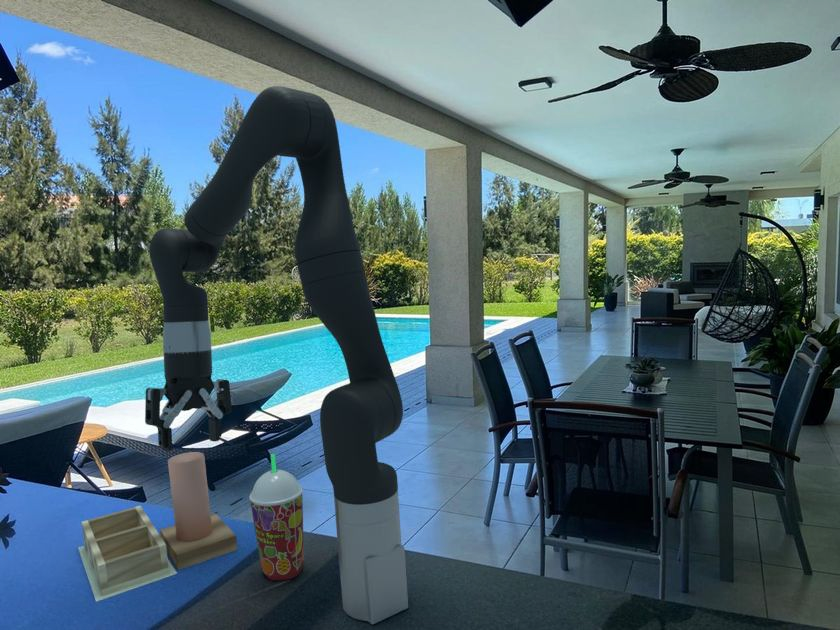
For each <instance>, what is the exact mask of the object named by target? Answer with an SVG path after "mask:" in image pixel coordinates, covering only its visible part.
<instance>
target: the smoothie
mask: <svg viewBox="0 0 840 630" xmlns="http://www.w3.org/2000/svg"><path fill="white" fill-rule="evenodd" d="M270 461H271V470H269V471H266V472H265V473H263V474H262V475H260V476H259V478H258V479H256V482H255V483H254V486H253V489H252V491H251V492H250V494H249V497H248V498H249V500H250V501H249V502H250V507H251V513H252V521H253V525H254V530H255V532H254V533H255V539H256V543H257V550H258V556H259V562H260V567H261V570H262V573H264V574H265V576H266V578H268V579H269V580H273V581H284V582H285V581H288V580H291V579H293V578H296V577H297V576H299V575H300V573H301V571H302V567H303V566H304V564H305V556H304V555H305V554H304V551H305V549H304V546H305V545H304V509H303V507H304V506H303V505H304V504H303V501H304V500H303V492H304V491H303V487H302V485H301V484H300V483H299V482H298V480H297V478H296V477H295V476H294V475H293V474H291V472H288V471H287V470H283V469H277V464H276V463H277V461H276V455H275V453H271V454H270Z"/></svg>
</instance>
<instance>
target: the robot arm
mask: <svg viewBox="0 0 840 630" xmlns="http://www.w3.org/2000/svg"><path fill="white" fill-rule="evenodd" d="M337 127H338V126H337V122H336V118H335V115H334V112H333V110H332V108H331V106H330V104H329V103H328V102H327V101H326V100H325V99H324V98H323V97H321V96H320V95H318V94H315V93H312V92H307V91H304V90H299V89H295V88H292V87H286V86H279V85H273V86H270V87H267V88H265V89H263V90H262V91H261V92H260V93H259V94H258V95H257V96H256V98H255V99H254V100H253V102H252V103H251V104H250V107H249V108H248V110H247V111H246V114H245V115H244V118H243V119H242V121H241V123H240V125H239V127H238V129H237V131H236V133H235V135H234V136H233V139H232V140H231V143H230V145H229V147H228V149H227V151H226V153H225V155H224V157H223V159H222V161H221V163H220V165H219V167H218V169H216V172H215V174H214V175H213V176H212V178H211V180H210V181H209V182H208V183H207V185H206V186H205V188H204V189H203V190H202V191H201V193H200V194H198V196H197V197H196V199H195V200H194V201H193V202H192V204H191V205H190V207H189V208H188V209H187V210H186V213H185V215H184V225H185V227H186V229H181V228H167V227H166V228H165V227H164V228H161V229H159V230H156V232H155V233H154V234H153V235H152V237H151V239H150V242H149V247H148V248H149V250H148V251H149V259H150V262H151V266H152V269H153V271H154V274H155V277H156V280H157V283H158V286H159V290H160V293H161V297H162V301H163V303H162V304H163V305H162V306H163V333H162V341H163V342H162V343H163V344H162V349H163V369H164V370H163V372H164V375H163V376H164V380H165V384H164V386H163V387H161V388H160V387H158V388H157V387H147V388H146V389H145V410H144V411H145V412H144V414H145V415H144V417H145V418H144V422H145V424H146V425H148V426H153V427H156V428H157V441H158V444H157V445H158V446H159V448H161V450H162V451H165V452H170V451H172V450H173V432H172V430H173V429H172V427H171V425H173V422H174V420H175V419H176V417H178V416H179V415H180V413H181V412H186V411H190V410H192V409H197V410H198V409H202V410H203V411H204V412H205V413H206V415H208V417H210V418H209V419H208V422H207V423H208V438H209V441H211V442H219V441H220V438H221V437H222V434H223V431H222V430H223V429H222V419H223V417H224V416H226V415H228V414H231V413H232V411H233V410H232V409H233V407H232V398H231V389H230V381H229V380H228V379H223V378H221V379H217V380H215V381H213V379H212V375H213V357H212V355H213V354H212V353H213V352H212V336H211V335H212V334H211V328H210V322H209V298H208V293H207V290H205V289H204V288H203V287H201V286H197V285H193V284H190V283H189V282H188V281H187V280H186V278H185V275H184V273H187V272H188V273H200V272H201V273H202V272H205V271H207V270H209V269H210V268H212V267H213V266H214V265H215V264H216V262H217V261H218V257H219V255H220V252H221V249H222V248H223V246H224V242H225V240H226V237H227V236H228V234H230V233H231V231H233V230H234V228H235V226H237V224H238V223H240V221H241V220H242V219H243V217H244V216H245V215H246V213H247V211H248V210H249V207H250V204H251V201H252V197H253V196H252V195H253V184H254V180H255V178H256V177H257V174H258V173H259V172H260V171H261V170H262V168H264V166H265V165H267V164H268V163H269V162H271V160H273V159H275V157H277V156H278V157H285V158H286V157H288V158H295V159H296V162H297V166H298V169H299V173H300V176H301V182H302V187H303V199H304V200H303V207H302V212H301V216H300V220H299V224H298V228H297V231H296V232H297V233H296V236H295V242H294V258H295V262H296V267H297V271H298V275H299V278H300V283H301V288H302V291H303V294H304V298H305V299H306V302H307V304H308V305H309V307H310V308H311V310H312V312H314V314H315V315H316V317H317V318H318V319H319V321H320V322H321V323H322V324H323V325H324V326H325V328H326V329H327V330H328V331H329V333H330V334H331V335H332V337H333V338H334V340H335V341H336V343H337V344H338V347H339V348H340V351H341V353H342V355H343V359H344V362H345V365H346V369H347V370H346V371H347V373H348V378H349V379H348V380H349V382H348V383H347V384H344V385H340V386H338V387H336V388H333V389H332V390H330V391H329V392H328V393H326V395H325V396H324V398H323V399H322V402H321V405H320V406H321V407H320V411H319V413H320V414H319V421H320V423H319V424H320V426H319V427H320V434H321V442H322V447H323V456H324V464H325V469H326V473H327V476H328V479H329V480H330V483H331V484H332V489H333V490H332V491H333V499H334V513H335V514H334V515H335V526H336V539H337V551H338V565H339V576H340V577H339V579H340V587H341V598H342V600H341V601H342V608H343V611H344V612H345V614H347V616H350V617H351V618H352V619H356V620H359V621H363V622H364V621H366V622H368V623H369V624H371V625H374V624H377V623H380V622H382V621H383V620H386V619H387V618H389V617H392V616H394V615H396V614H398V613H401V612H402V611H404V610H406V609H408V608H409V601H408V599H409V598H408V597H409V596H408V583H407V570H406V569H407V566H406V554H405V552H406V551H405V550H406V549H405V547H404V546H403V544H402V532H401V531H402V530H401V519H400V518H401V517H400V516H401V515H400V501H399V500H400V499H399V485H398V484H399V483H398V474H397V471H396V469H395V468H394V466H392V465H390V464H389V463H385V462H382V461H379V459H378V453H377V446H376V445H377V443H379V442H381V441H383V440H384V439H386V438H388V437H390V436H391V435H393V434H394V433H395V432H397V430H399V428H400V426H401V424H402V420H403V417H404V407H403V406H404V405H403V400H402V396H401V393H400V389H399V386H398V382H397V380H396V377H395V374H394V372H393V368H392V366H391V363H390V360H389V357H388V354H387V351H386V348H385V345H384V342H383V339H382V335H381V332H380V328H379V324H378V321H377V317H376V313H375V309H374V305H373V301H372V297H371V294H370V288H369V284H368V278H367V273H366V269H365V265H364V264H365V263H364V262H363V261H364V259H363V257H362V252H361V248H360V244H359V241H358V238H357V234H356V231H355V230H356V229H355V226H354V221H353V217H352V212H351V207H350V203H349V202H350V201H349V198H348V192H347V189H346V184H345V183H346V182H345V176H344V170H343V164H342V162H343V161H342V155H341V147H340V139H339V133H338V128H337ZM213 391H214V392H215V393H216V401H217V402H215V400H214V399H213V398H212V397H211V394H212V393H213ZM164 396H165V397H166V399H167V402H166V403H165V405H164V407H163V408H162V410H161V402H162V401H163V398H164ZM160 411H161V412H160Z"/></svg>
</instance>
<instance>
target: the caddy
mask: <svg viewBox="0 0 840 630" xmlns="http://www.w3.org/2000/svg"><path fill="white" fill-rule="evenodd" d="M148 516H149V515H148V514H146V512H145V510H144V509H143V507H142V505H137V506H133V507H130V508H126V509H123V510H119V511H116V512H112V513H108V514H105V515H102V516H98V517H93V518H91V519H86V520H83V521H81V528H82V529H81V530H82V535H83V536H82V537H83V546H85V550H86V552H87V555H88V558H89V561H90V563H91V566H92V569H93V572H94V574H95V577H96V580H97V583H98V586H99V588H100V591H101V594H102V596H104V595H107V594H110V593H113V592H116V591H119V590H122V589H125V588H127V587H130V586H133V585H136V584H139V583H142V582H145V581H148V580H151V579H154V578H157V577H159V576H162V575H165V574H168V573H169V566H168V560H169V559H168V553H167V549H166V544H165V542H164V541H163V539H162V538H161V534H160V532H158V530H157V529H156V527H155V525H154V524H153V522H152V521H151V520H150V518H149V517H148Z"/></svg>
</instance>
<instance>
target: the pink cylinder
mask: <svg viewBox="0 0 840 630" xmlns="http://www.w3.org/2000/svg"><path fill="white" fill-rule="evenodd" d="M167 465H168V467H167V468H168V473H169V474H168V475H169V484H170V491H171V493H170V494H171V499H172V508H173V509H172V510H173V518H174V525H175V528H176V537H177V539H178V540H179V541H182V542H191V541H196V540H200V539H202V538H205V537H207V536H208V535H209V534H210V533H211V532H212V523H211V514H212V513H211V505H210V498H209V496H210V495H209V487H208V480H207V479H208V478H207V468H206V459H205V453H203V452H199V451H190V452H189V451H188V452H183V453H179V454H177V455H174V456H172V457H171V456H170V458H169V459H167Z"/></svg>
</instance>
